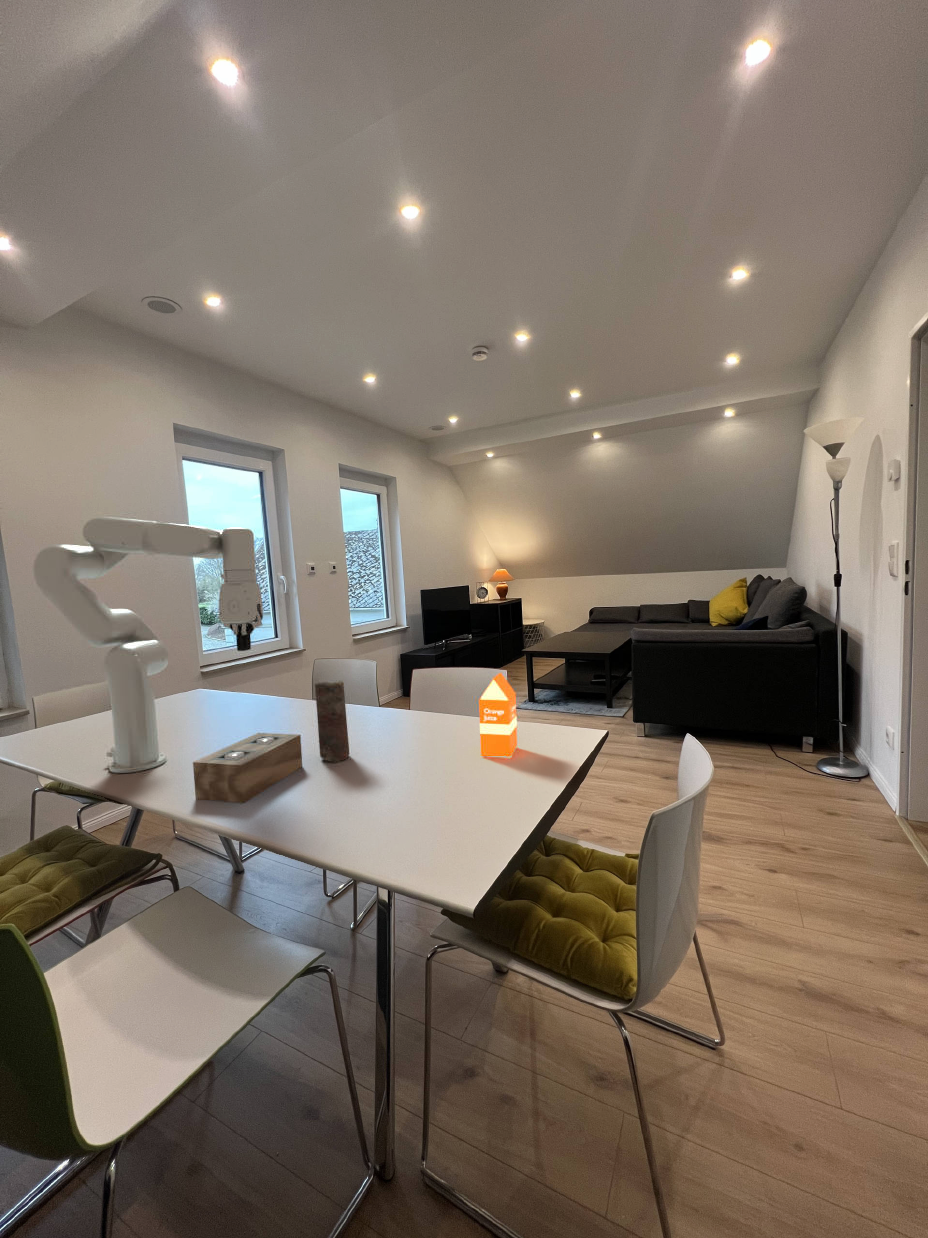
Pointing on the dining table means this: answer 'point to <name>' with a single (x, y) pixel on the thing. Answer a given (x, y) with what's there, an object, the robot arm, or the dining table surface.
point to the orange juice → (498, 719)
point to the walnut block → (247, 767)
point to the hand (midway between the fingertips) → (244, 650)
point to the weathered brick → (332, 721)
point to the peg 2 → (265, 740)
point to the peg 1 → (234, 755)
